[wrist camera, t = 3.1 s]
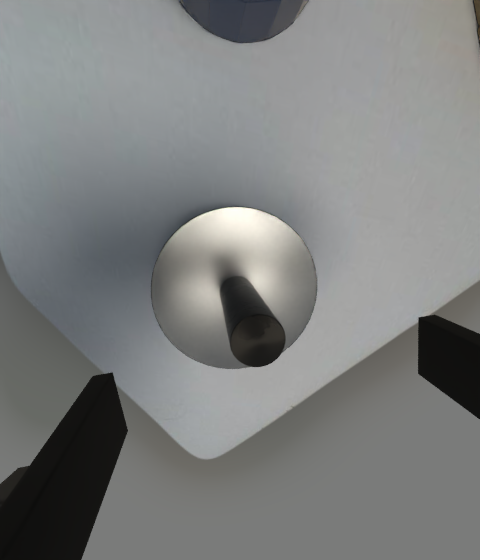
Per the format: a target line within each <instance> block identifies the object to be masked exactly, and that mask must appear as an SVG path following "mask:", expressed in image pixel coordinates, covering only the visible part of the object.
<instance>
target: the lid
mask: <svg viewBox="0 0 480 560" xmlns="http://www.w3.org/2000/svg"><path fill="white" fill-rule="evenodd" d="M316 295H317V276H316V269H315V265H314V262H313V259H312V256H311V254H310V252H309V249H308V248H307V246H306V245H305V243H304V241H303V240H302V239H301V237H300V236H299V235H298V234H297V232H296V231H294V230H293V229H292V228H291V227H290V226H289V225H288V224H287V223H285V222H284V221H282V220H281V219H279V218H278V217H276V216H274V215H272V214H270V213H267V212H264V211H261V210H258V209H253V208H249V207H224V208H219V209H214V210H211V211H208V212H205V213H203V214H201V215H199V216H197V217H195V218H193V219H191V220H190V221H188V222H187V223H185V224H184V225H182V226H181V227H180V228H179V229H178V230H177V231H176V232H175V233H174V234H173V235H172V236H171V237H170V239H169V240H168V241H167V242H166V244H165V245H164V247H163V249H162V250H161V252H160V254H159V256H158V258H157V261H156V263H155V267H154V270H153V274H152V281H151V299H152V306H153V310H154V313H155V317H156V319H157V321H158V323H159V326H160V328H161V329H162V331H163V332H164V334H165V336H166V337H167V338H168V339H169V340H170V342H171V343H172V344H173V345H174V346H175V347H176V348H177V349H179V350H180V351H181V352H182V353H184V354H185V355H187V356H188V357H190V358H192V359H194V360H195V361H197V362H200V363H203V364H205V365H208V366H213V367H217V368H225V369H239V368H247V367H262V366H265V365H268V364H270V363H272V362H273V361H275V360H276V359H277V358H278V357H279V356H280V354H281V353H282V352H284V351H285V350H286V349H287V348H288V347H290V346H291V345H292V344H293V343H294V342H295V341H296V339H297V338H298V337H299V336H300V335H301V333H302V332H303V330H304V329H305V327H306V325H307V324H308V322H309V320H310V317H311V315H312V312H313V310H314V306H315V302H316Z"/></svg>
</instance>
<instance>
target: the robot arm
mask: <svg viewBox="0 0 480 560" xmlns="http://www.w3.org/2000/svg"><path fill="white" fill-rule="evenodd" d="M418 329H419V330H418V333H419V334H418V335H419V336H418V337H419V338H418V340H419V341H418V374H419V375H421V376H422V377H423V378H425V379H426V380H427V381H429V382H430V383H431V384H433V385H434V386H435V387H437V388H438V389H440V390H441V391H442V392H444V393H445V394H446V395H448V396H449V397H450V398H452V399H453V400H454V401H456V402H457V403H459V404H460V405H461V406H463V407H464V408H465V409H467V410H468V411H469V412H471V413H472V414H473V415H475V416H476V417H477V418H479V419H480V334H479V333H476V332H474V331H471V330H469V329H467V328H464V327H462V326H460V325H457V324H455V323H453V322H451V321H448V320H446V319H444V318H441V317H439V316H436V315H430V316H425V317H419V328H418ZM127 432H128V429H127V426H126V422H125V418H124V414H123V410H122V407H121V403H120V399H119V395H118V392H117V388H116V384H115V380H114V376H113V372H112V373H107V374H101V375H96V376H93V377H92V378H91V379H90V381H89V382H88V384H87V385H86V387H85V388H84V389H83V391H82V392H81V394H80V395H79V396H78V398H77V399H76V401H75V402H74V404H73V405H72V406H71V408H70V409H69V411H68V412H67V414H66V415H65V417H64V418H63V419H62V421H61V422H60V423H59V425H58V426H57V428H56V429H55V431H54V432H53V433H52V435H51V436H50V438H49V439H48V441H47V442H46V443H45V445H44V446H43V448H42V449H41V451H40V452H39V453H38V455H37V456H36V458H35V459H34V460H33V462H32V463H31V465H30V466H26V467H21V468H18V469H17V470H16V471H15V472H13V473H12V474H11V475H10V476H9V477H8V478H7V479H6V480H4V481H3V482H2V483H1V484H0V560H81V559H82V556H83V553H84V551H85V548H86V545H87V542H88V540H89V537H90V534H91V531H92V528H93V526H94V523H95V520H96V517H97V514H98V512H99V509H100V506H101V504H102V501H103V498H104V495H105V493H106V490H107V487H108V484H109V481H110V479H111V476H112V473H113V470H114V468H115V465H116V462H117V459H118V456H119V454H120V451H121V448H122V446H123V443H124V439H125V437H126V434H127Z"/></svg>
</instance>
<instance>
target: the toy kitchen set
mask: <svg viewBox="0 0 480 560" xmlns="http://www.w3.org/2000/svg"><path fill="white" fill-rule="evenodd" d="M474 4H475V9H476V16H477V21H478V24H479V29H478V35H479V40H480V0H474Z"/></svg>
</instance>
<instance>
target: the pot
mask: <svg viewBox="0 0 480 560" xmlns="http://www.w3.org/2000/svg"><path fill="white" fill-rule="evenodd" d="M179 1H180V2H181V4H182V5H183V6H184V8H185V9H186V10H187V12H188V13H189V14H190V15H191V16H192V17H193V18H194V19H195V20H196V21H197V22H198V23H199V24H200V25H201V26H203V27H204V28H205V29H207V30H208V31H210V32H212V33H213V34H215V35H217V36H220V37H222V38H224V39H228V40H231V41H236V42H257V41H262V40H265V39H268V38H271V37H273V36H275V35H277V34H279V33H280V32H282V31H283V30H284V29H286V28H287V27H288V26H289V25H290V24H292V23H293V22H294V21H295V19H296V18H297V17H298V16H299V14H300V13H301V12H302V10H303V8H304V7H305V5H306V4H307V2H308V1H309V0H179Z"/></svg>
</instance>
